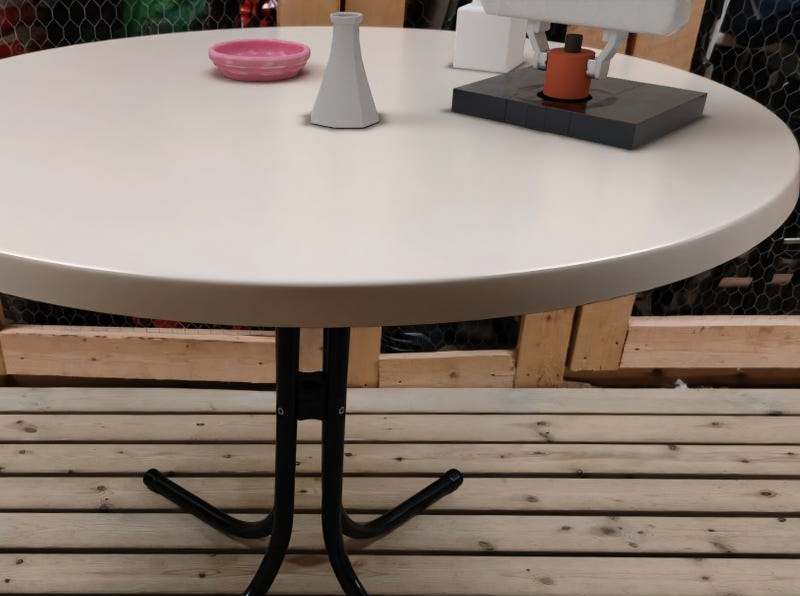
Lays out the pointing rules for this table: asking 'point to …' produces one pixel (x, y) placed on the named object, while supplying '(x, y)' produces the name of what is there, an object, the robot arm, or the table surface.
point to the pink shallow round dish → (259, 59)
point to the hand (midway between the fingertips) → (568, 73)
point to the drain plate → (582, 107)
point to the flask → (345, 79)
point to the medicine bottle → (488, 40)
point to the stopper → (568, 70)
